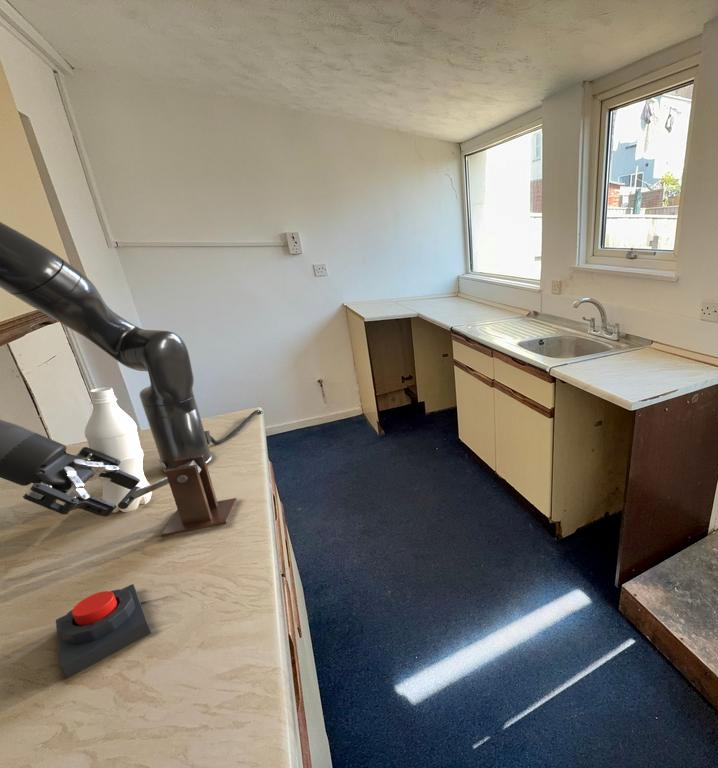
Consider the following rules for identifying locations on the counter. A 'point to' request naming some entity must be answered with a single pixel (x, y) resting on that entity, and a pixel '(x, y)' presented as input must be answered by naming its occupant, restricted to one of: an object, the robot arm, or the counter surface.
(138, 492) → the lever
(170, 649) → the counter surface
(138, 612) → the control block
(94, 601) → the button
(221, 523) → the bracket
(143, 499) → the water bottle
